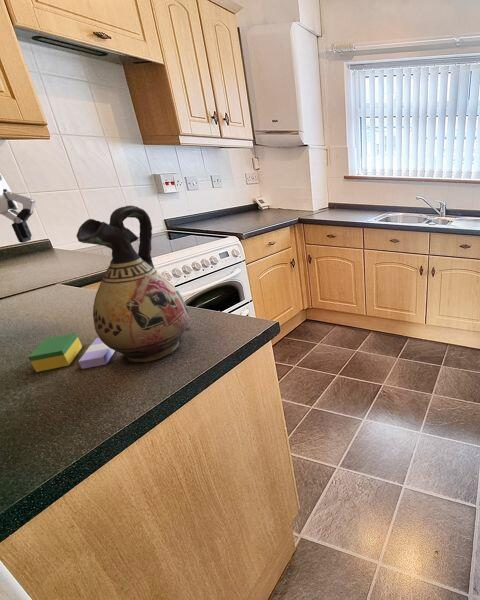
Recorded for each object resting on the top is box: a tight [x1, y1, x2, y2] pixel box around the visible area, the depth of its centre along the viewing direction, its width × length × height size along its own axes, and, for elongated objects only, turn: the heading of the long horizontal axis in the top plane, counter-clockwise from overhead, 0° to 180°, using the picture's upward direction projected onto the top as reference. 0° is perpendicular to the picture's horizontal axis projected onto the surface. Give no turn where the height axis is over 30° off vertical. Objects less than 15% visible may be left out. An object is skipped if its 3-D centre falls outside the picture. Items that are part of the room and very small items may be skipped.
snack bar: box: [77, 337, 116, 370], centre depth 71 cm, size 10×4×2 cm, turn 24°
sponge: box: [27, 332, 83, 373], centre depth 69 cm, size 8×5×4 cm, turn 26°
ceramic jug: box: [76, 205, 190, 363], centre depth 67 cm, size 17×15×30 cm
